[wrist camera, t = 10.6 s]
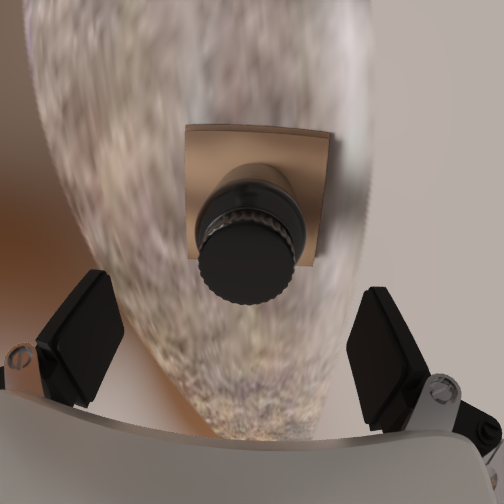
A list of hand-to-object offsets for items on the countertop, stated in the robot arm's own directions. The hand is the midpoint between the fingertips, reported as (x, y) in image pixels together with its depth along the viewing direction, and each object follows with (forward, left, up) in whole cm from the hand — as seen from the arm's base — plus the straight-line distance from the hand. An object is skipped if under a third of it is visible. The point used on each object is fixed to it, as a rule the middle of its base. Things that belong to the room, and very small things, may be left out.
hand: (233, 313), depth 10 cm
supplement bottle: (0, 0, -16) cm, 16 cm away
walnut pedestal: (+1, 0, -19) cm, 19 cm away
